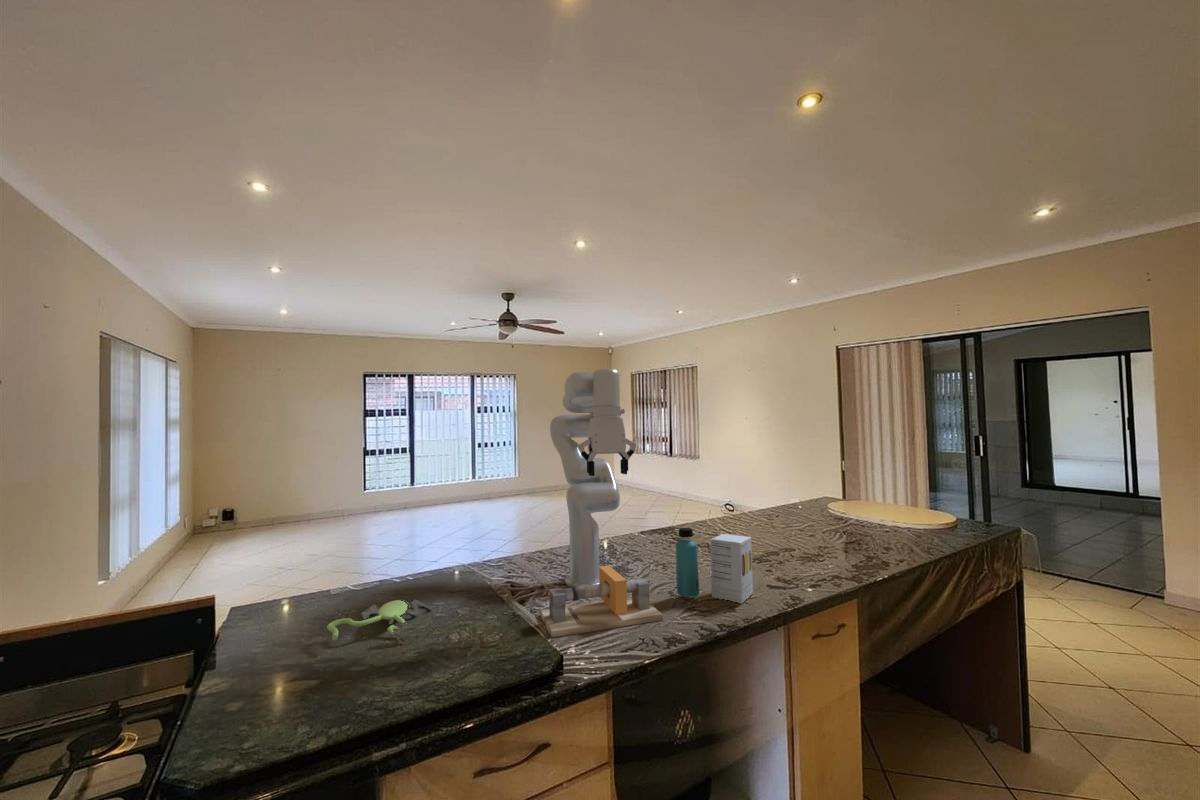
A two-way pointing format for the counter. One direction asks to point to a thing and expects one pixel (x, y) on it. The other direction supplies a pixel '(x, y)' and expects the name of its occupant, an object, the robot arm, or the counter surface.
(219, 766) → the counter surface
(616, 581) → the brown slab
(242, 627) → the counter surface
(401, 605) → the figurine
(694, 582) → the beverage bottle
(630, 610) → the pipe rig
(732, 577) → the supplement box
